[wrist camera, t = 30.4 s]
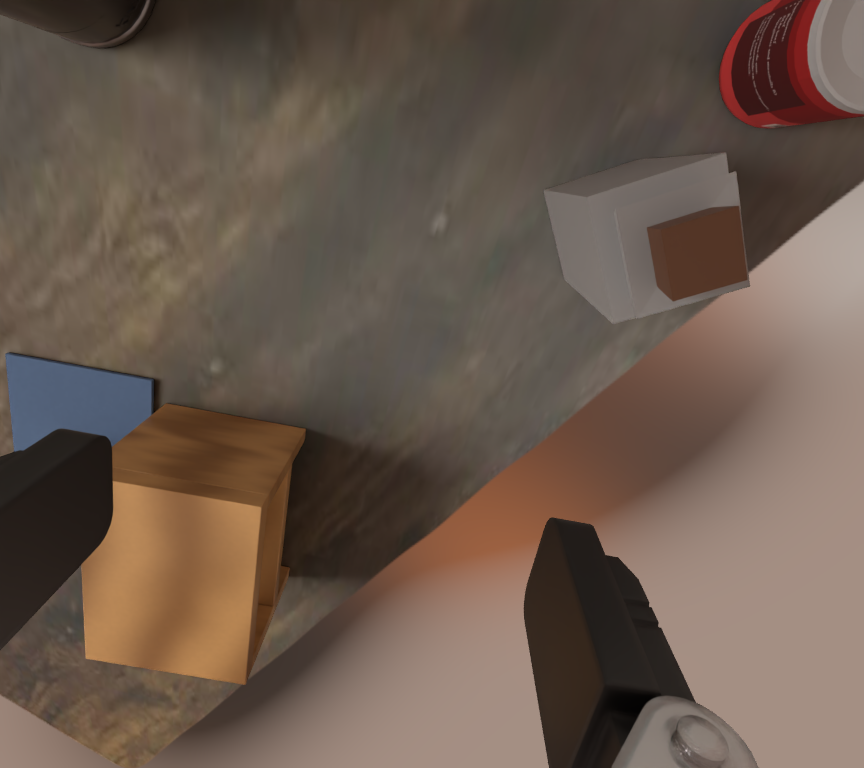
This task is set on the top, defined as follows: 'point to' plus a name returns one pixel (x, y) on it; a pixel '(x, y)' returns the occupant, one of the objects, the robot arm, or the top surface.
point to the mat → (73, 400)
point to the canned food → (796, 63)
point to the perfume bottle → (651, 234)
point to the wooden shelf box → (191, 544)
